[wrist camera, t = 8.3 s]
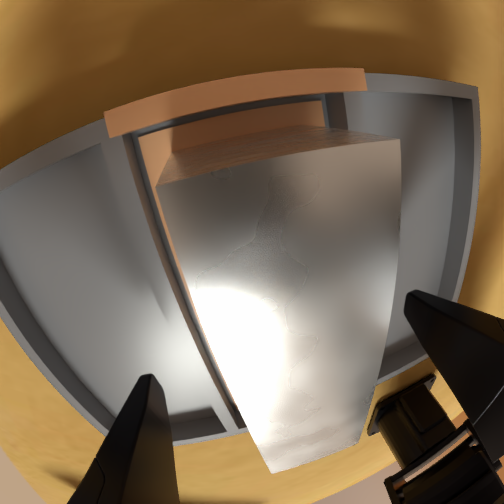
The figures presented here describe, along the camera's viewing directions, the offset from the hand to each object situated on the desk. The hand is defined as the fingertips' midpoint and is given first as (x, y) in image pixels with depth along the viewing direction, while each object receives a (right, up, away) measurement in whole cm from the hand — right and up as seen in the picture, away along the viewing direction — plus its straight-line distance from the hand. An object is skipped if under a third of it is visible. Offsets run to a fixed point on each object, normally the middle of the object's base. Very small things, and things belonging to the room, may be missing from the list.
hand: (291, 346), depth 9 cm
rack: (-1, +1, +3) cm, 3 cm away
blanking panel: (-1, +1, +2) cm, 2 cm away
